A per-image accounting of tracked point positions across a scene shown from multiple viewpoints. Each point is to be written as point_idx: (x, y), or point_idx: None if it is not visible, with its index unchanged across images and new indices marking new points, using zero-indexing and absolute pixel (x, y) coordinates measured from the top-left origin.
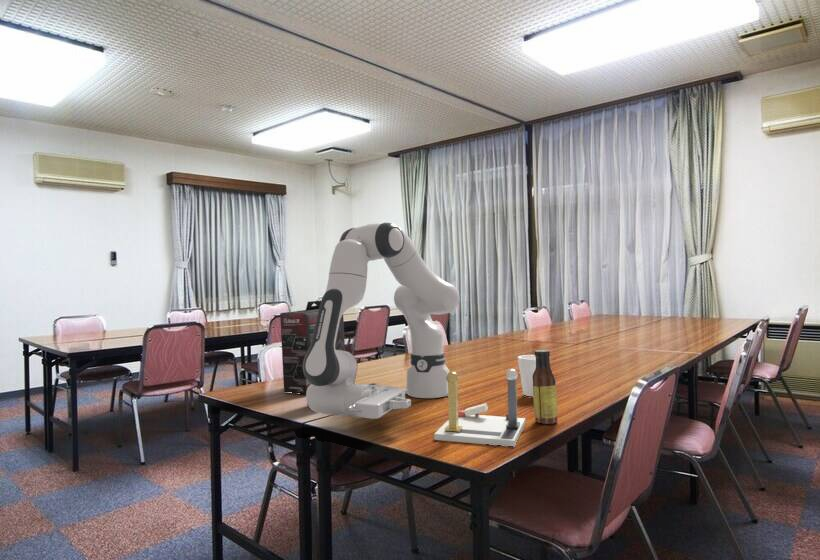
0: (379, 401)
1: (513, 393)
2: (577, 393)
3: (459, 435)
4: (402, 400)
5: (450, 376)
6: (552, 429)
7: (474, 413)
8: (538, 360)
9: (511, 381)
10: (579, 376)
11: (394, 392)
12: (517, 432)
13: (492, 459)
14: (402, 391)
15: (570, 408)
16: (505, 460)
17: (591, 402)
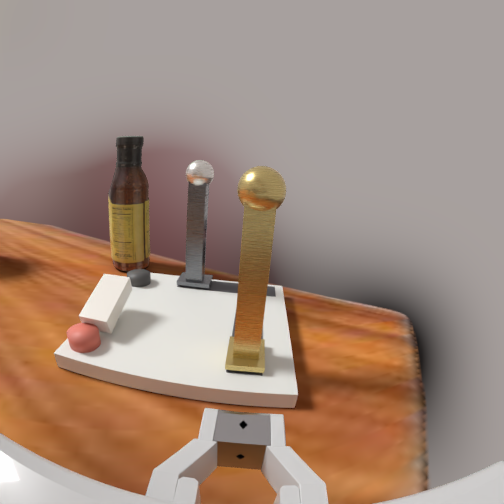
0: (465, 499)
1: (206, 212)
2: (8, 237)
3: (286, 345)
4: (252, 443)
5: (284, 182)
6: (172, 265)
7: (120, 310)
8: (136, 153)
9: (207, 187)
10: None
11: (73, 501)
12: (231, 281)
13: (355, 313)
14: (8, 438)
15: (68, 247)
16: (348, 303)
17: (52, 236)
